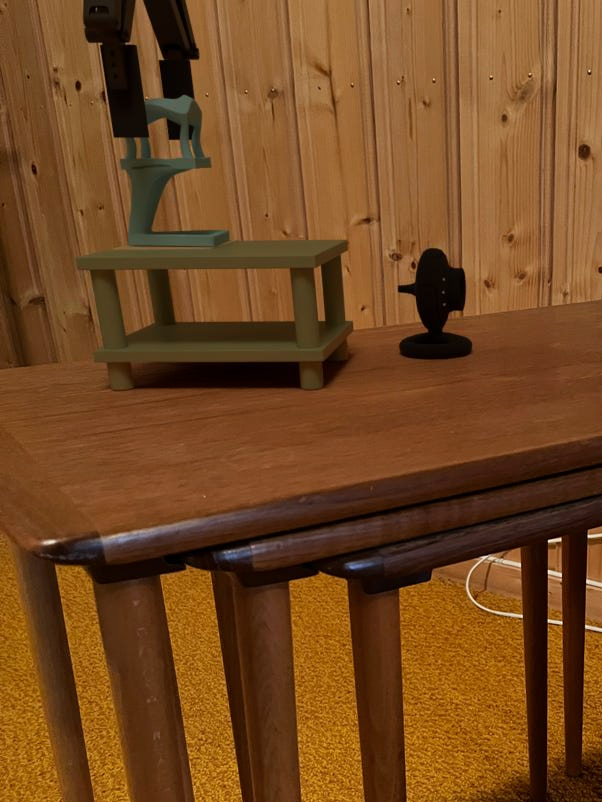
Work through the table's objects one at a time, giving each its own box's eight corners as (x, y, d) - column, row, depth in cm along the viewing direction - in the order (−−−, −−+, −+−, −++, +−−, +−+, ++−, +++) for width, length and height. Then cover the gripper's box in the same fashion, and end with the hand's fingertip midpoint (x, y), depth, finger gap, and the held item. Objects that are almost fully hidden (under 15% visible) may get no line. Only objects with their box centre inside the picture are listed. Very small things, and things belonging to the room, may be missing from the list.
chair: (143, 241, 93) (121, 98, 88) (231, 240, 93) (214, 96, 88) (120, 248, 86) (94, 93, 81) (215, 247, 86) (195, 92, 81)
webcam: (464, 360, 96) (462, 251, 91) (391, 358, 97) (385, 251, 93) (478, 346, 103) (477, 244, 98) (409, 345, 104) (405, 244, 100)
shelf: (99, 391, 85) (74, 256, 80) (161, 357, 99) (143, 240, 95) (326, 391, 84) (314, 253, 79) (355, 356, 99) (347, 238, 94)
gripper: (104, -221, 65) (152, 136, 75) (212, -125, 87) (239, 140, 97) (-6, -219, 65) (56, 136, 75) (130, -124, 88) (165, 141, 97)
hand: (159, 139), depth 86 cm, fingers open, 13 cm apart
